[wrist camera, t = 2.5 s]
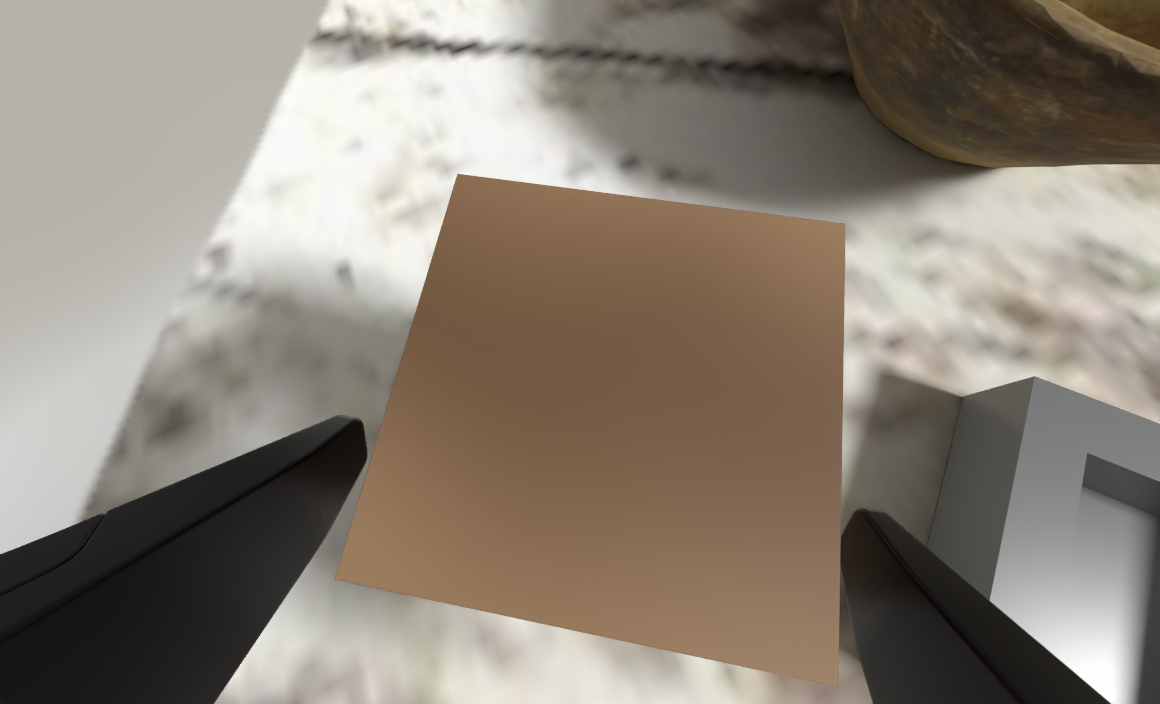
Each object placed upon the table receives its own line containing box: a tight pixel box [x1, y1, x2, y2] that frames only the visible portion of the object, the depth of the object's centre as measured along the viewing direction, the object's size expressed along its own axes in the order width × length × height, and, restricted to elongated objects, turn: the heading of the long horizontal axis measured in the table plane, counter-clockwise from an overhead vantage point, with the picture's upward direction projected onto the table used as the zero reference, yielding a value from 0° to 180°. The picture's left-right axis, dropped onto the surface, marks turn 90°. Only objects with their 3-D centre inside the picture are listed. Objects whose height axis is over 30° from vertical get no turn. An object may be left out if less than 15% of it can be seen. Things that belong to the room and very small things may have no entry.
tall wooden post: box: [335, 174, 845, 687], centre depth 11 cm, size 4×4×13 cm
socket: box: [927, 376, 1160, 704], centre depth 14 cm, size 10×10×3 cm
